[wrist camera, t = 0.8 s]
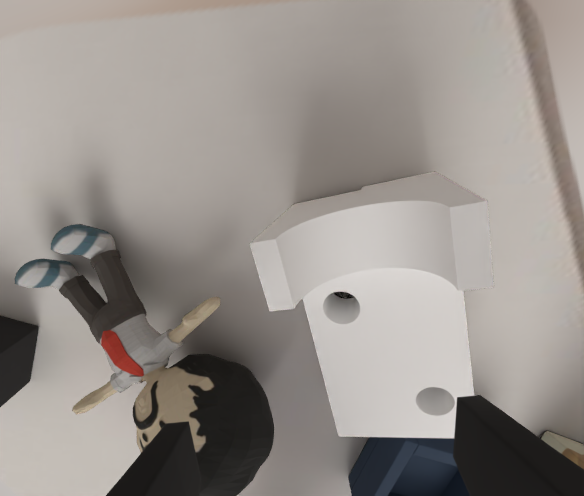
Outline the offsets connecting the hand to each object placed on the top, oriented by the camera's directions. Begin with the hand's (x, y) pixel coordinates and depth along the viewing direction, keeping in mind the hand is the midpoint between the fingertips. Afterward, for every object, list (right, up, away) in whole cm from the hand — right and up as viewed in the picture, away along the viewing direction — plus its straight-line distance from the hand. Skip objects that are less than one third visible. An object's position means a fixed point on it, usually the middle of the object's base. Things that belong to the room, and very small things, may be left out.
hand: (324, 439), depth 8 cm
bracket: (+3, +2, +10) cm, 11 cm away
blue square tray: (+8, -9, +13) cm, 18 cm away
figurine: (-8, 0, +10) cm, 13 cm away
